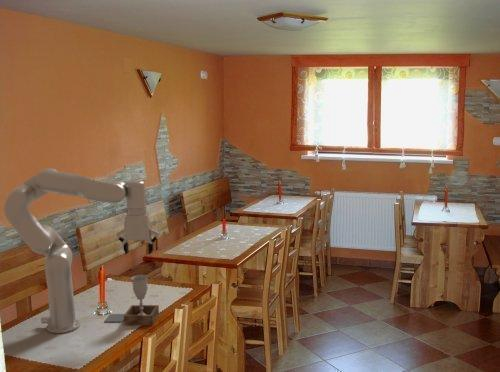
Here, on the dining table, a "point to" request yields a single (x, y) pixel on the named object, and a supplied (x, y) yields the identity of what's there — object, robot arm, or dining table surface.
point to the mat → (115, 318)
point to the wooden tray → (135, 319)
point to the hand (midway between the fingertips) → (138, 253)
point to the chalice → (140, 289)
